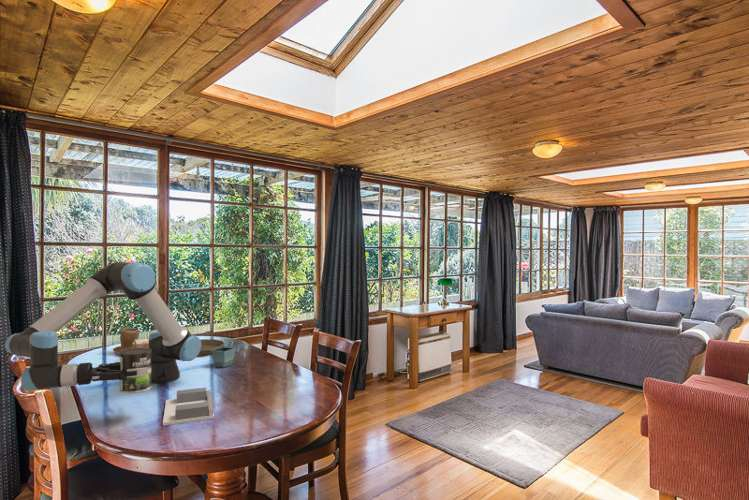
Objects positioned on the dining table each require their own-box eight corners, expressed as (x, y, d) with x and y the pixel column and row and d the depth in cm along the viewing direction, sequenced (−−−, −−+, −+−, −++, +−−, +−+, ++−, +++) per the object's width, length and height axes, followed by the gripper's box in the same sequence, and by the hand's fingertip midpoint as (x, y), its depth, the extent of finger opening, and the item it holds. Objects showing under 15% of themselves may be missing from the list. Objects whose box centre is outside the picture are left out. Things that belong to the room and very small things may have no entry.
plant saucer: (167, 360, 239) (167, 352, 239) (169, 348, 267) (169, 341, 267) (226, 355, 252) (226, 347, 252) (222, 344, 280) (222, 337, 280)
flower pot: (210, 367, 226) (210, 350, 226) (222, 363, 234) (222, 346, 234) (224, 369, 223) (224, 351, 223) (235, 364, 231) (235, 348, 231)
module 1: (176, 403, 171) (176, 394, 171) (176, 399, 175) (177, 390, 175) (206, 399, 175) (206, 391, 175) (206, 395, 180) (206, 387, 180)
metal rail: (209, 416, 158) (209, 410, 158) (206, 395, 180) (206, 390, 180) (213, 415, 159) (213, 409, 159) (210, 394, 181) (210, 390, 181)
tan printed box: (132, 358, 243) (132, 336, 243) (144, 356, 247) (145, 335, 247) (136, 367, 226) (136, 343, 226) (150, 365, 229) (150, 342, 229)
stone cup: (141, 354, 252) (141, 328, 252) (118, 357, 244) (118, 331, 244) (134, 349, 263) (134, 325, 263) (112, 352, 255) (112, 327, 255)
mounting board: (162, 425, 152) (162, 422, 152) (166, 402, 175) (166, 399, 175) (214, 418, 159) (214, 415, 159) (211, 396, 182) (211, 394, 182)
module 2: (175, 420, 154) (175, 410, 154) (175, 415, 159) (175, 405, 159) (208, 415, 159) (208, 406, 159) (207, 410, 163) (207, 401, 163)
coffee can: (157, 387, 161) (157, 349, 161) (129, 395, 152) (129, 355, 152) (141, 382, 167) (141, 346, 166) (114, 390, 158) (113, 352, 158)
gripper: (85, 376, 163) (151, 369, 171) (69, 395, 142) (146, 386, 151) (84, 356, 163) (151, 350, 171) (69, 372, 142) (146, 365, 151)
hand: (148, 367), depth 161 cm, fingers closed on coffee can, 10 cm apart
